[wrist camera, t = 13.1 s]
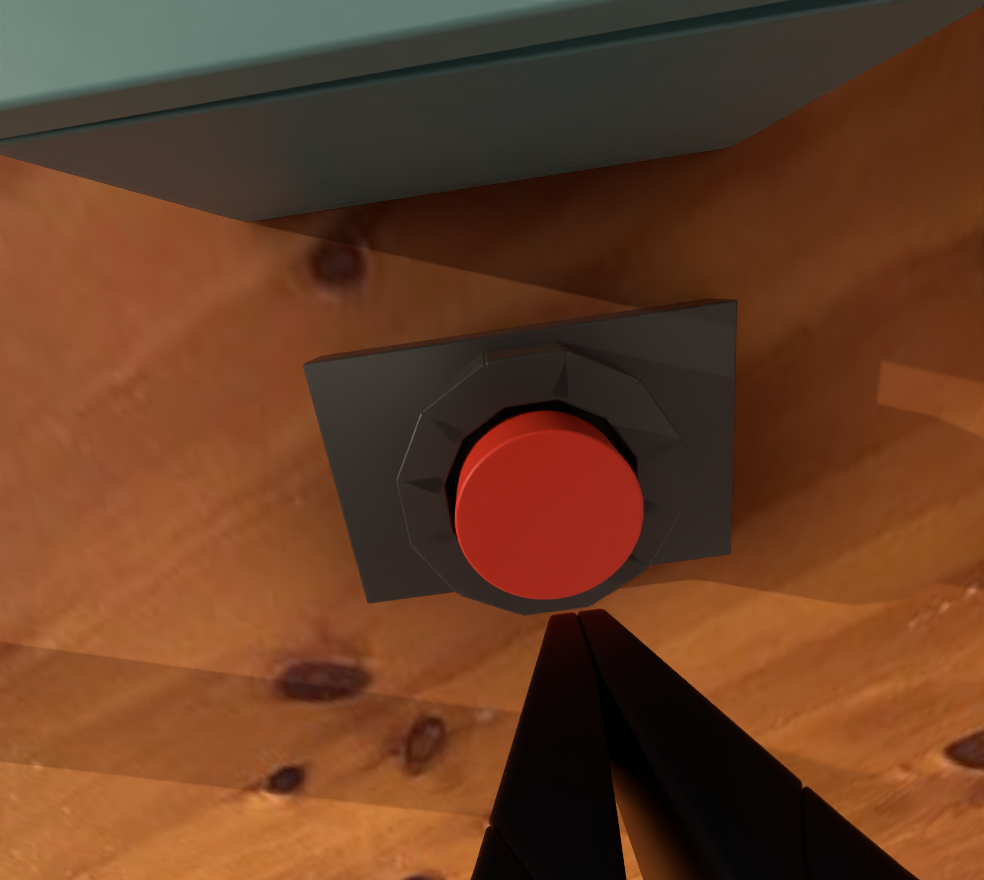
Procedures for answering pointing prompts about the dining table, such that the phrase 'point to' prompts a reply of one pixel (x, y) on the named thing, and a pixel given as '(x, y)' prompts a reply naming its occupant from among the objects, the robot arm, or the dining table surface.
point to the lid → (263, 46)
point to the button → (547, 506)
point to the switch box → (519, 389)
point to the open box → (494, 111)
